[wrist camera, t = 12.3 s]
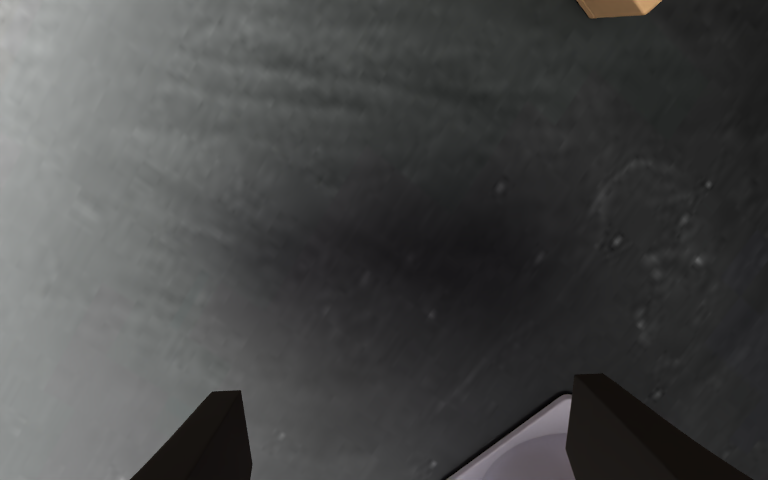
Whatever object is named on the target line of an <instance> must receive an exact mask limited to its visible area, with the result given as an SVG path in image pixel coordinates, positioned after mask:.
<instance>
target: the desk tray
mask: <svg viewBox="0 0 768 480" xmlns="http://www.w3.org/2000/svg"><path fill="white" fill-rule="evenodd" d="M661 1H662V0H577V2H578V3H579V4H580V6H581V7H582V8H583V10H584V11H585V12H586V14H587V15H588V16H589V18H602V17H621V16H640V15H646V14H647V13H649V12H650V11H651V10H652V9H653V8H654V7H655V6H656V5H658V4H659V3H660V2H661Z"/></svg>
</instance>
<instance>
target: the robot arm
mask: <svg viewBox="0 0 768 480" xmlns="http://www.w3.org/2000/svg"><path fill="white" fill-rule="evenodd" d="M251 470H252V459H251V452H250V446H249V439H248V433H247V427H246V420H245V414H244V407H243V401H242V395H241V390H237V391H215V392H211V393H210V395H209V396H208V397H207V398H206V399H205V400H204V401H203V402H202V403H201V404H200V405H199V406H198V408H197V409H196V410H195V411H194V412H193V413H192V414H191V415H190V416H189V418H188V419H187V420H186V421H185V422H184V423H183V424H182V425H181V427H180V428H179V429H178V430H177V431H176V432H175V433H174V434H173V435H172V437H171V438H170V439H169V440H168V441H167V442H166V443H165V444H164V445H163V446H162V447H161V448H160V449H159V450H158V451H157V453H156V454H155V455H154V456H153V457H152V458H151V459H150V460H149V461H148V462H147V463H146V464H145V465H144V466H143V467H142V468H141V469H140V470H139V471H138V472H137V473H136V474H135V475H134V476H133V477H132V478H131V479H130V480H250V477H251ZM446 480H753V479H752V478H750V477H748V476H747V475H745V474H743V473H742V472H740V471H739V470H737V469H736V468H734V467H733V466H731V465H730V464H728V463H727V462H725V461H723V460H722V459H720V458H719V457H717V456H716V455H714V454H713V453H711V452H710V451H708V450H707V449H705V448H704V447H702V446H701V445H700V444H698V443H697V442H695V441H694V440H692V439H691V438H690V437H688V436H687V435H685V434H684V433H683V432H681V431H680V430H678V429H677V428H676V427H674V426H673V425H671V424H670V423H669V422H667V421H666V420H665V419H663V418H662V417H661V416H659V415H658V414H657V413H655V412H654V411H653V410H651V409H650V408H649V407H647V406H646V405H645V404H643V403H642V402H641V401H639V400H638V399H637V398H635V397H634V396H633V395H631V394H630V393H629V392H627V391H626V390H625V389H623V388H622V387H621V386H619V385H618V384H617V383H615V382H614V381H613V380H611V379H610V378H608V377H607V376H605V375H604V374H603V373H602V374H581V375H575V376H574V384H573V392H572V395H570V394H566V395H562V396H560V397H559V398H557V399H556V400H554V401H553V402H552V403H550V404H549V405H548V406H546V407H545V408H544V409H542V410H541V411H539V412H538V413H537V414H535V415H534V416H533V417H531V418H530V419H528V420H527V421H526V422H524V423H523V424H522V425H520V426H519V427H518V428H516V429H515V430H513V431H512V432H511V433H509V434H508V435H507V436H505V437H504V438H502V439H501V440H500V441H498V442H497V443H496V444H494V445H493V446H492V447H490V448H489V449H487V450H486V451H485V452H483V453H482V454H481V455H479V456H478V457H476V458H475V459H474V460H472V461H471V462H470V463H468V464H467V465H465V466H464V467H463V468H461V469H460V470H459V471H457V472H456V473H455V474H453V475H452V476H450V477H449V478H448V479H446Z"/></svg>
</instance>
